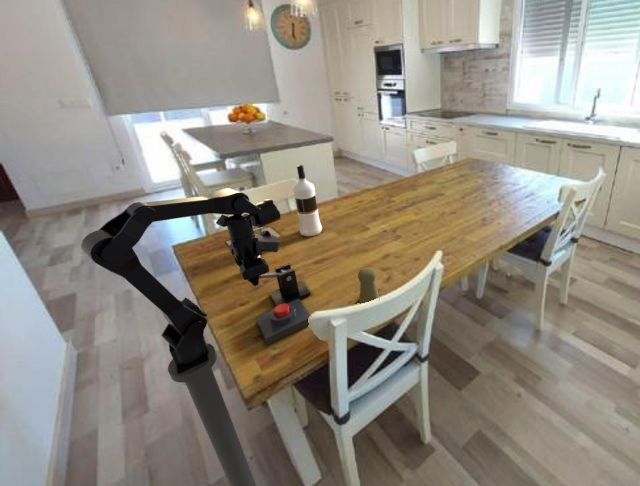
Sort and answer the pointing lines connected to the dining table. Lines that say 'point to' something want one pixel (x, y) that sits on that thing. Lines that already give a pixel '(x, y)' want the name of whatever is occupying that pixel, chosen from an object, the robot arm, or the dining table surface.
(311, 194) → the vodka
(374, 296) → the grey brown pawn
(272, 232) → the platform
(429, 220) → the dining table surface
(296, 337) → the dining table surface
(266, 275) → the switch lever
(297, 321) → the switch block
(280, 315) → the switch button
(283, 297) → the switch bracket
